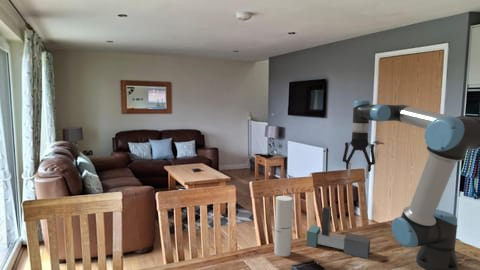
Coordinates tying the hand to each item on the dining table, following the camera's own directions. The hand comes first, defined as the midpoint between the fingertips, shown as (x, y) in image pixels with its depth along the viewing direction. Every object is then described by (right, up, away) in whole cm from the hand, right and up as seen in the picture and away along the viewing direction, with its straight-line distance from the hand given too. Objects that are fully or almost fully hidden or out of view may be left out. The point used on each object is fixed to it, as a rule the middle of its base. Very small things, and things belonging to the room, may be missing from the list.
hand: (357, 176), depth 161 cm
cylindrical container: (-40, -32, -17) cm, 54 cm away
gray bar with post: (-17, -30, -11) cm, 36 cm away
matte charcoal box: (-7, -32, -16) cm, 37 cm away
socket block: (-24, -31, -7) cm, 40 cm away
